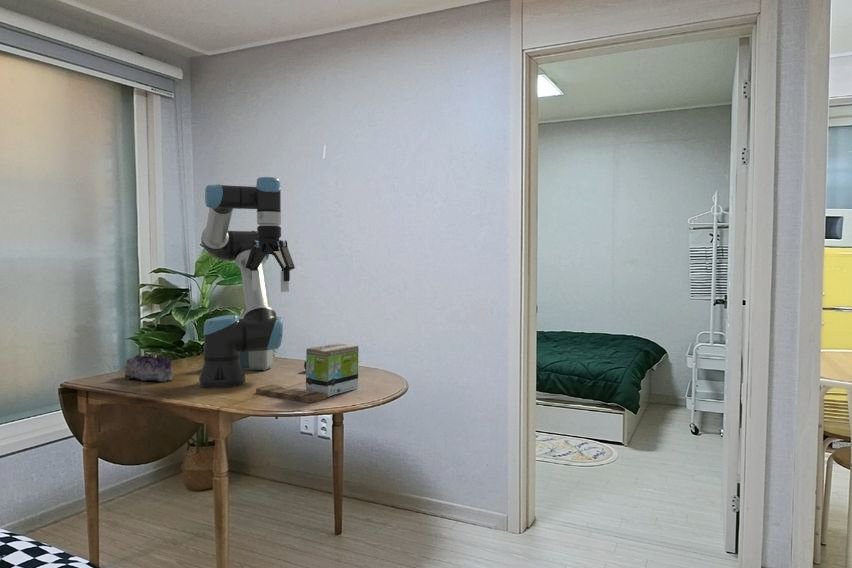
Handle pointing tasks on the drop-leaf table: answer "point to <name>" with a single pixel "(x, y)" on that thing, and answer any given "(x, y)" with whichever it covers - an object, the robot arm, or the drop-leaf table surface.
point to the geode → (149, 368)
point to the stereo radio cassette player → (257, 360)
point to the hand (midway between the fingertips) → (269, 291)
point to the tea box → (332, 369)
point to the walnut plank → (291, 393)
